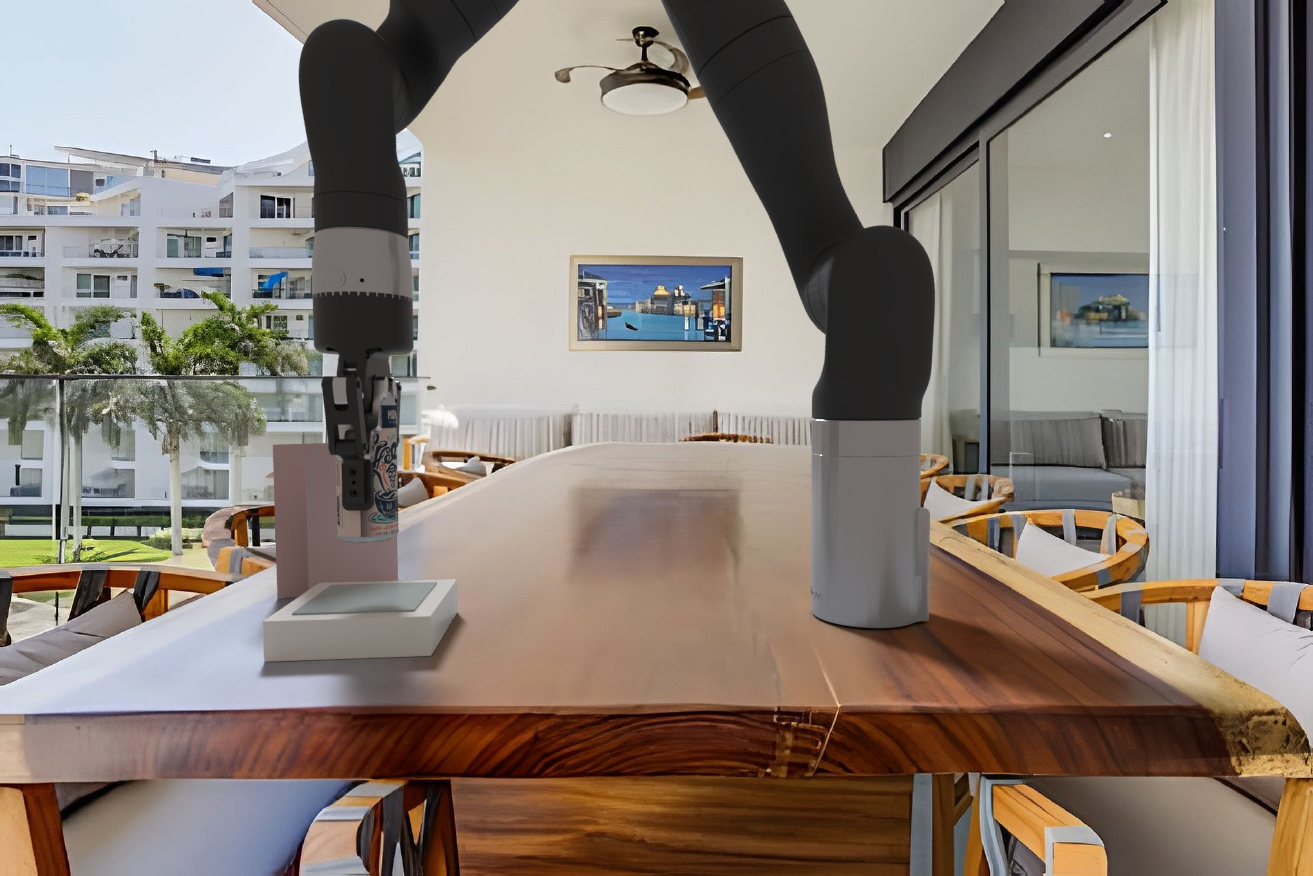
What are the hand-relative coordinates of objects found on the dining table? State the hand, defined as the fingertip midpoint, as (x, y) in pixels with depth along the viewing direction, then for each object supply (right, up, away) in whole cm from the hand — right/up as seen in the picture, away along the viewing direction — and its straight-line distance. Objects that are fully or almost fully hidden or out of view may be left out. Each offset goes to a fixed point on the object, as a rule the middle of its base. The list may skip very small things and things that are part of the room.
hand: (368, 504), depth 62 cm
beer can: (0, -3, 0) cm, 3 cm away
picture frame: (0, -11, 0) cm, 11 cm away
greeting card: (-7, -10, +13) cm, 18 cm away
